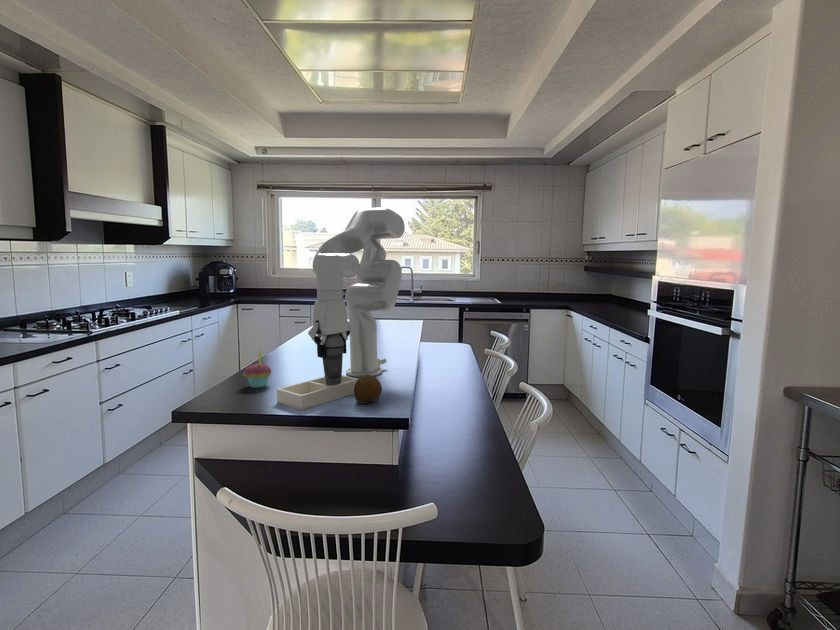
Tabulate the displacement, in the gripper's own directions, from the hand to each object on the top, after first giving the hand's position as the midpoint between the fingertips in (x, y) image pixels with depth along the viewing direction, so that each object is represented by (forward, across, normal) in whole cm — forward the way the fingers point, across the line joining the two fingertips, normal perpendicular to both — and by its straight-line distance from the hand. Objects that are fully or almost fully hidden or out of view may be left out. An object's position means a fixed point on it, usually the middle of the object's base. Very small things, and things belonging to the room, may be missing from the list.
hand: (332, 354), depth 142 cm
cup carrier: (+12, +5, 0) cm, 13 cm away
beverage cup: (+9, 0, 0) cm, 9 cm away
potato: (+12, 0, +15) cm, 19 cm away
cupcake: (+12, +9, -26) cm, 30 cm away
